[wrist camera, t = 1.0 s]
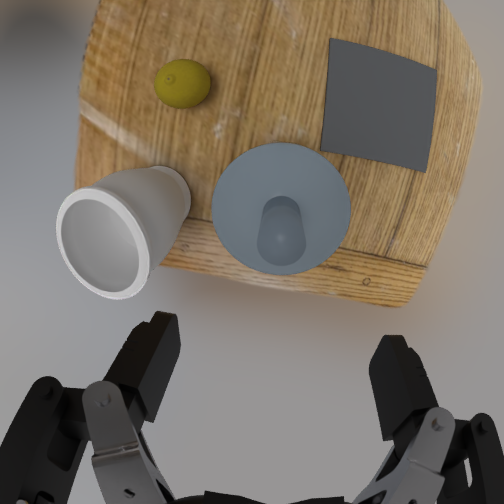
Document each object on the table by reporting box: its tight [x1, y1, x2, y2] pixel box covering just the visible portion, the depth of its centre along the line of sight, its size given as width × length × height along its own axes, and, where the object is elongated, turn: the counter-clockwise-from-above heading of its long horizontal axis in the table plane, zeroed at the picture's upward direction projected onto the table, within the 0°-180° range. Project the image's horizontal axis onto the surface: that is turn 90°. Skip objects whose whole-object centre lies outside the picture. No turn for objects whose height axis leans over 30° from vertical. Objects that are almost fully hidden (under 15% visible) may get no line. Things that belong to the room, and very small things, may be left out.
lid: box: [212, 142, 351, 275], centre depth 21 cm, size 12×12×7 cm
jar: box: [56, 166, 191, 299], centre depth 27 cm, size 11×10×15 cm
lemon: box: [154, 59, 211, 109], centre depth 24 cm, size 6×6×8 cm
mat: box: [320, 38, 437, 173], centre depth 25 cm, size 14×14×1 cm
